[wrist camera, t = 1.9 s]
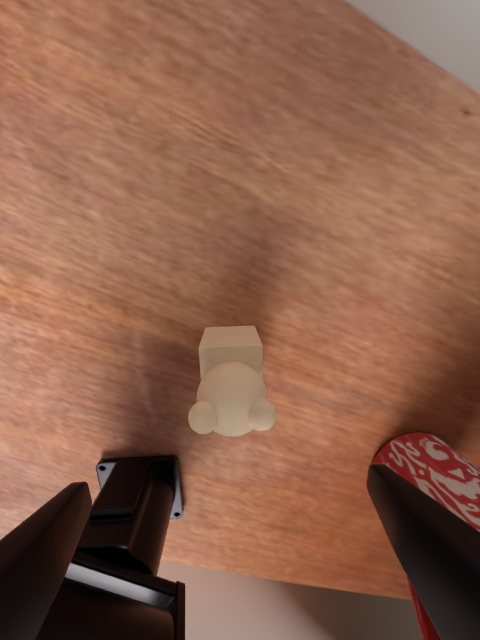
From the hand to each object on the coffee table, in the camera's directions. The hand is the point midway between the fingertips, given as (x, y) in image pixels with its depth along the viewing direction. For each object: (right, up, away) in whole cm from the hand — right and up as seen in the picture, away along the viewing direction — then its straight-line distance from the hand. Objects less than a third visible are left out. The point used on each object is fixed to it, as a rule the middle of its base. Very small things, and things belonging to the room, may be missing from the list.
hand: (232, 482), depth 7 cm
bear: (0, +3, +10) cm, 10 cm away
